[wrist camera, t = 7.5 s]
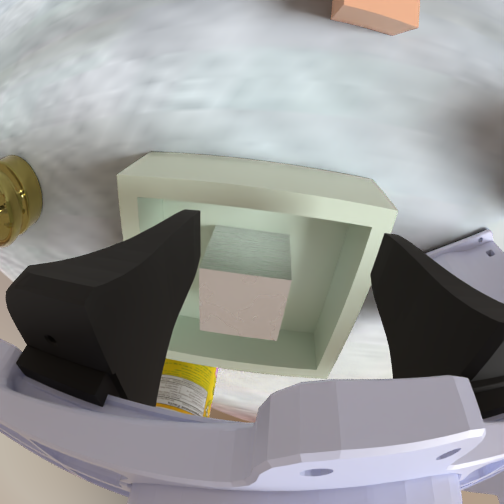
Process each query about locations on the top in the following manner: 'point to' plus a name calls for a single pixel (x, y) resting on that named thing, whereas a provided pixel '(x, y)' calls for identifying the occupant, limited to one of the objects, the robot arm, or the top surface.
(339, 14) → the terracotta box
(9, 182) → the brass calibration weight
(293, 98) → the top surface
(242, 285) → the steel block
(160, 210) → the tote
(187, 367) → the supplement bottle
